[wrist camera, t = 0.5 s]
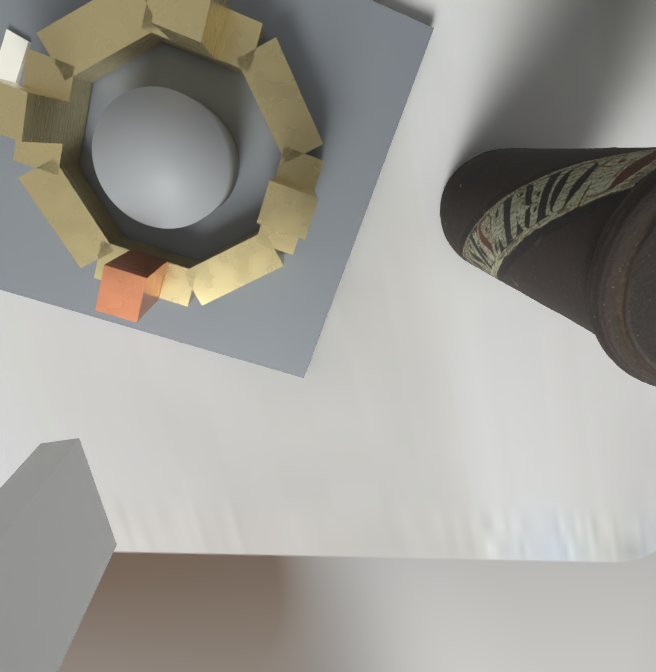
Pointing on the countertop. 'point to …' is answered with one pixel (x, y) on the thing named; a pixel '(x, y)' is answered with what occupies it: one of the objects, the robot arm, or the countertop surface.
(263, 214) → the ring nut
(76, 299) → the slate plate
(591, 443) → the countertop surface
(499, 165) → the container
